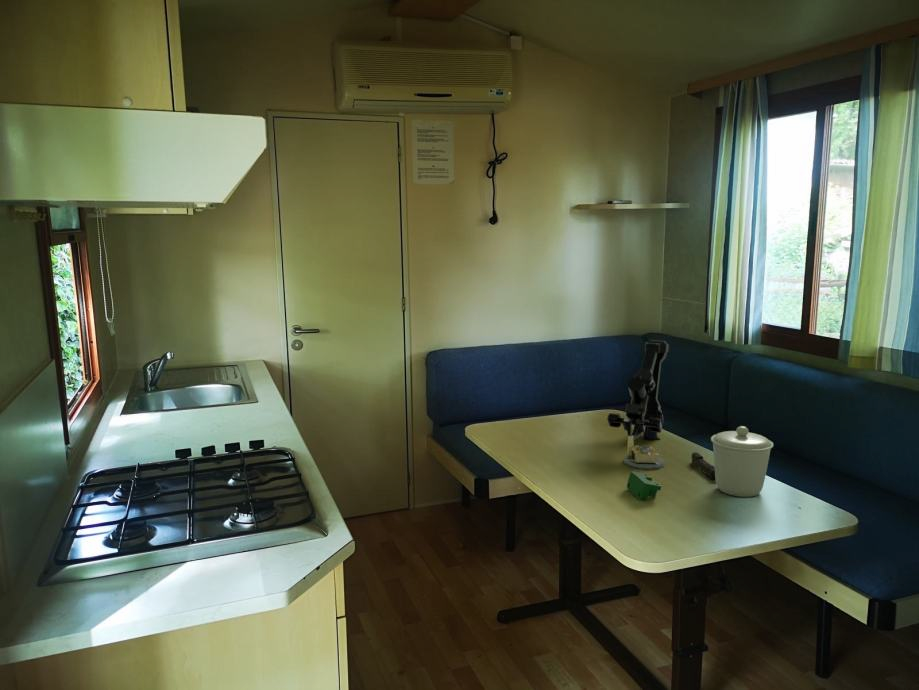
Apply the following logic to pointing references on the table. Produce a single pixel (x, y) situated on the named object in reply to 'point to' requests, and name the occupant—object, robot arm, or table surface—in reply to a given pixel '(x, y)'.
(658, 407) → the robot arm
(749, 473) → the canister
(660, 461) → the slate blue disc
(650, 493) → the green mounting bracket
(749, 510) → the table surface
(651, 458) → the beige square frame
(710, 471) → the dark brown log
